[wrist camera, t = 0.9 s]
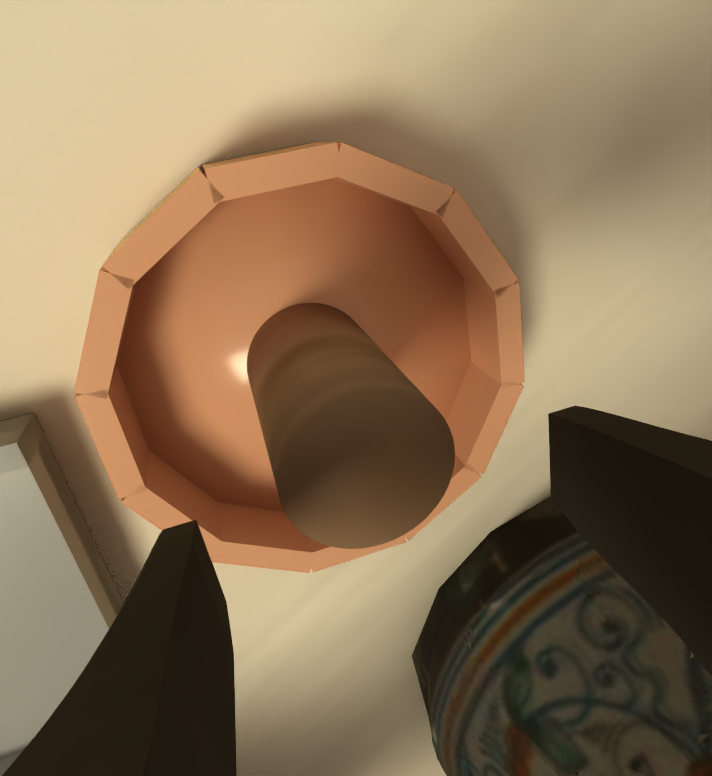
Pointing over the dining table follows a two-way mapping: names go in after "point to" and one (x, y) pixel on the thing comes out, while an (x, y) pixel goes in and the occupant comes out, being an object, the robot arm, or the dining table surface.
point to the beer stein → (557, 665)
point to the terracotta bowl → (264, 299)
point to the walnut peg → (345, 430)
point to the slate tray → (43, 587)
